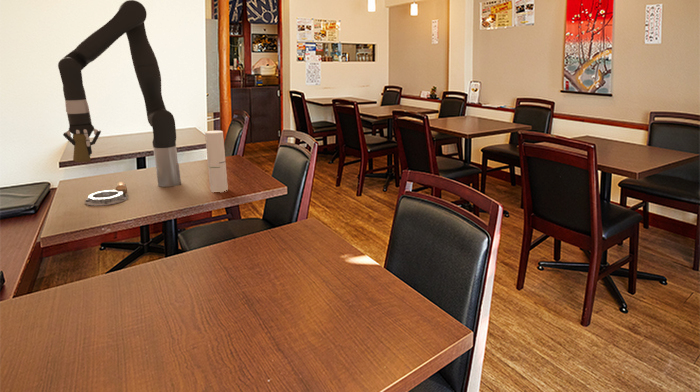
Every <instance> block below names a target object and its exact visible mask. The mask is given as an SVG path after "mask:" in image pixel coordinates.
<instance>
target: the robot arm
mask: <svg viewBox="0 0 700 392" xmlns="http://www.w3.org/2000/svg"><path fill="white" fill-rule="evenodd" d="M147 14H148V13H147V9H146V8H145V6H144V5H143V4H142V3H141V2H140V1H137V0H125V1H124V2H122V3H121V4H119V7H118V11H117V12H116V13H115V15H114V16H113V17H112V18H111V19H109V20H108V21H107V22H106V23H105V24H104V25H102V26H101V27H100V28H98V29H97V30H95V31H94V32H92V33H91V34H90V35H88V36H87V37H86V38H85V39H83V41H81V42H80V43H78V45H76V47H75V48H74V49H73V50H71V51H70V52H69V53H68V54H66V55H65V56H64V57H62V58H61V59H60V60H59V61H58V64H57V67H58V71H59V75H60V80H61V83H62V91H63V97H64V100H65V101H64V103H65V111H66V116H67V120H68V124H69V125H68V130H67V131H66V132H63V133H62V135H63V137H64V138H65V139H66V140H67V141H68V142H70V144H72V145H73V147H74V146H75V141H74V140H73V135H74V134H80V133H81V134H84V135H85V136H86V137H87V138H86V144H87V149H88V154H89V156H90V157H91V155H92V153H93V150H92V146H93V145H95V144H96V142H97V140H98V139H99V137H100V135H101V133H102V131H101V130H100V129H96V128H95V126H94V125H93V123H92V119H91V113H90V107H89V104H88V100H87V96H86V91H85V88H84V83H83V75H82V74H83V73H82V71H83V70H84V69H85V68H86V66H88V65H89V64H90V63H93V61H95V60H97V58H99V57H100V56H102V54H103V53H105V52H106V51H107V50H108V49H109V48H110V47H111V46H112V45H113V44H114V43H115V42H117V40H118V39H119V38H121V37H122V36H123V35H126V37H127V41H128V45H129V50H130V56H131V60H132V61H131V62H132V66H133V68H134V72H135V76H136V79H137V81H138V85H139V88H140V91H141V94H142V97H143V99H144V104H145V105H144V106H145V112H146V117H147V123H148V124H149V126H151V128H152V133H153V135H152V137H153V139H152V148H153V156H154V165H155V170H156V178H157V179H156V180H157V185H158V186H159V187H161V188H162V187H163V188H171V187H176V186H179V185H182V180H181V172H180V163H179V160H178V152H177V143H176V142H177V129H176V119H175V117H174V115H173V113H172V112H171V111H169V110H168V109H167V108H166V105H165V103H164V100H163V95H162V74H161V71H160V67H159V63H158V60H157V57H156V55H155V53H154V50H153V48H152V46H151V43H150V41H149V39H148V35H147V31H146V26H145V21H146V19H147ZM92 133H93V134H94V137H93V138H92V140H91V138H90V137H91V135H92Z"/></svg>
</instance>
